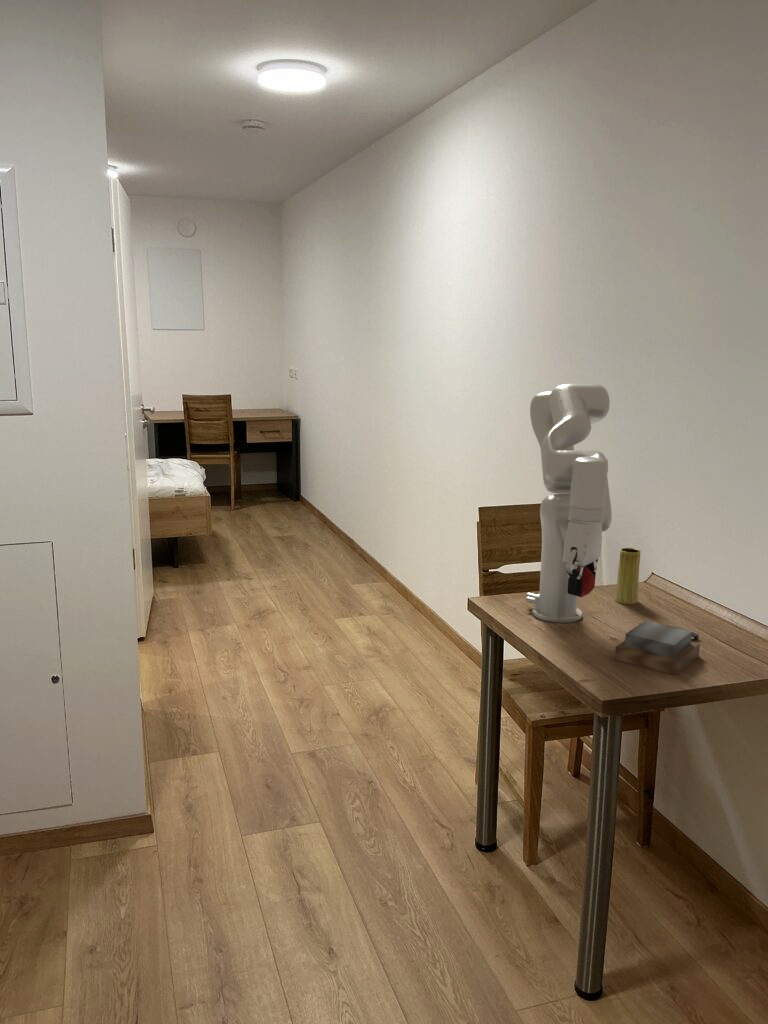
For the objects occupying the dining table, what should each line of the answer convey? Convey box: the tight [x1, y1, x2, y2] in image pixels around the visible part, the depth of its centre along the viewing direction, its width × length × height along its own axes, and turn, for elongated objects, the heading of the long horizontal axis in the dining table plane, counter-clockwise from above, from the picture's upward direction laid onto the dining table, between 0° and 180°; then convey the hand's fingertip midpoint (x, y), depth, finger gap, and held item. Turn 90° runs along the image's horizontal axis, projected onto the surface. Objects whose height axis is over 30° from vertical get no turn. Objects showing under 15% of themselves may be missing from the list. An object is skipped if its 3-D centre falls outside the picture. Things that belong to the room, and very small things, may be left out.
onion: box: [576, 566, 596, 598], centre depth 196 cm, size 6×6×8 cm
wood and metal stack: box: [614, 620, 701, 676], centre depth 196 cm, size 14×14×6 cm
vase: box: [614, 547, 641, 605], centre depth 235 cm, size 6×6×14 cm
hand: (581, 590), depth 196 cm, fingers closed on onion, 5 cm apart
